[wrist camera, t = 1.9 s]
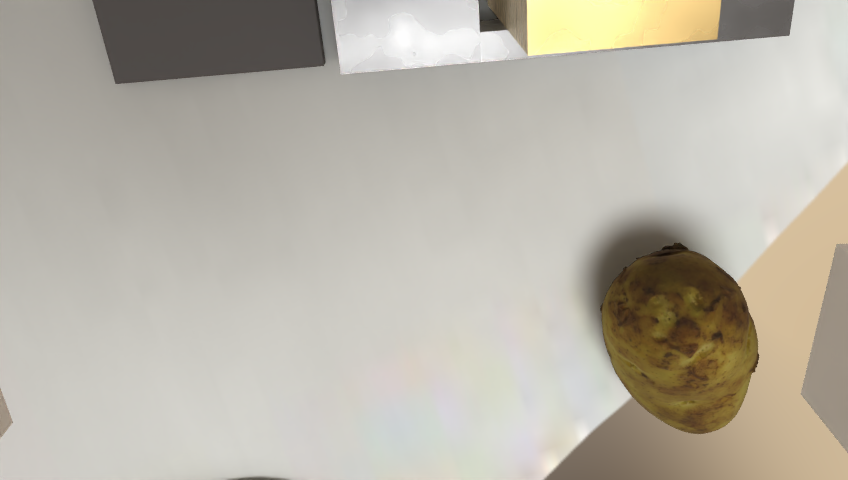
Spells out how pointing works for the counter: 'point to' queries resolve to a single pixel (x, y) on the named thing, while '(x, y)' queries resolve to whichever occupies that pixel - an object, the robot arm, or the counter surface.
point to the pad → (208, 37)
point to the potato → (681, 338)
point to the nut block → (605, 23)
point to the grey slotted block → (488, 32)
